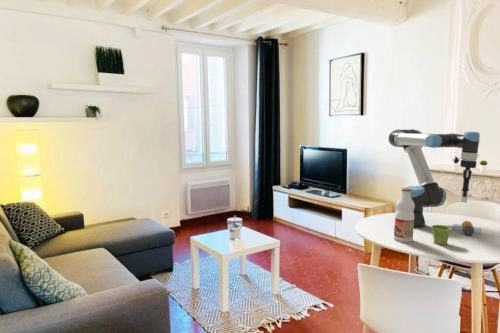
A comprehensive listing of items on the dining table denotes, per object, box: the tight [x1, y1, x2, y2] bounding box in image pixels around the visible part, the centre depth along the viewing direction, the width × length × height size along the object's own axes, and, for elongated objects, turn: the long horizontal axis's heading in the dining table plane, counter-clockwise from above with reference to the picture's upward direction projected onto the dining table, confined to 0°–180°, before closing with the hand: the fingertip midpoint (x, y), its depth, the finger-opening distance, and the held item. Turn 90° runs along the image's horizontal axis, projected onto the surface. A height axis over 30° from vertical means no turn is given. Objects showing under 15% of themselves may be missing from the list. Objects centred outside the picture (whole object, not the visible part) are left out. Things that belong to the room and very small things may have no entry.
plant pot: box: [431, 224, 452, 246], centre depth 193 cm, size 9×9×9 cm
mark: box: [452, 223, 482, 234], centre depth 221 cm, size 14×14×1 cm
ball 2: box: [462, 225, 474, 236], centre depth 208 cm, size 6×6×6 cm
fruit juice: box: [393, 187, 415, 243], centre depth 197 cm, size 9×9×28 cm
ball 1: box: [461, 220, 474, 228], centre depth 217 cm, size 6×6×6 cm
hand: (463, 201), depth 207 cm, fingers closed
